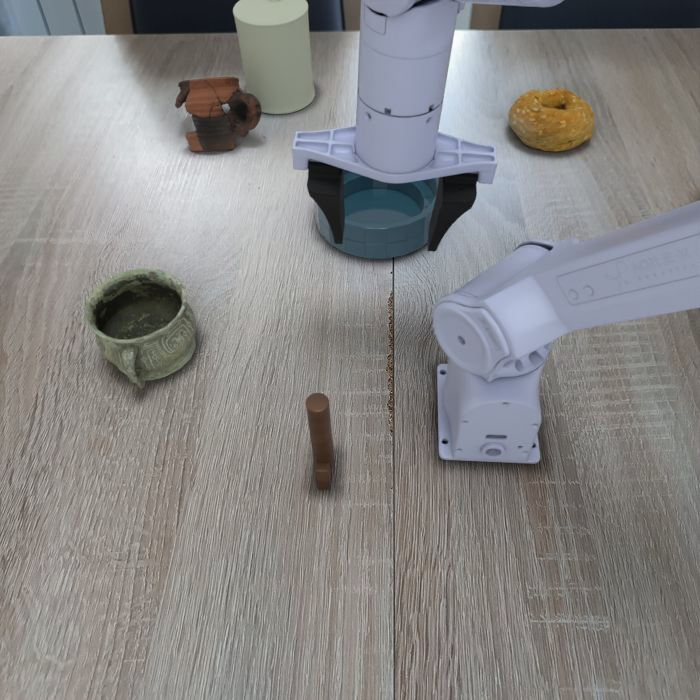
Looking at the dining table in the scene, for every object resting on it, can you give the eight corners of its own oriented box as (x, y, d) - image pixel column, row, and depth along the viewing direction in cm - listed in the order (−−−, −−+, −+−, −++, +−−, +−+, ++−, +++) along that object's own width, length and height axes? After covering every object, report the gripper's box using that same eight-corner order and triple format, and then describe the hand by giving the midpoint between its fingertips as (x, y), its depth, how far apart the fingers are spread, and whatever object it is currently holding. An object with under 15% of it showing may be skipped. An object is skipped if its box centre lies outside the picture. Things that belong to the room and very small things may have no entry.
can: (319, 79, 90) (313, -14, 81) (309, 115, 85) (302, 21, 75) (254, 77, 91) (240, -15, 82) (240, 113, 85) (223, 19, 76)
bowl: (441, 263, 67) (444, 230, 63) (310, 260, 68) (307, 226, 64) (438, 182, 75) (441, 148, 72) (322, 180, 76) (320, 147, 72)
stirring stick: (334, 490, 51) (327, 421, 43) (313, 489, 51) (303, 420, 44) (337, 456, 53) (330, 384, 45) (317, 455, 53) (307, 383, 45)
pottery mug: (166, 154, 81) (154, 82, 78) (213, 147, 89) (203, 82, 86) (247, 149, 76) (237, 72, 73) (289, 142, 84) (281, 73, 81)
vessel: (121, 302, 65) (100, 255, 60) (210, 300, 64) (197, 253, 60) (92, 403, 57) (65, 359, 52) (192, 401, 57) (176, 356, 52)
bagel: (612, 142, 79) (623, 106, 75) (532, 165, 76) (540, 128, 73) (565, 102, 85) (574, 66, 81) (490, 121, 82) (495, 85, 79)
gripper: (507, 64, 45) (472, 211, 56) (298, 49, 45) (304, 199, 57) (514, 128, 41) (474, 273, 52) (284, 111, 41) (293, 259, 52)
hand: (385, 238), depth 54 cm, fingers open, 7 cm apart
